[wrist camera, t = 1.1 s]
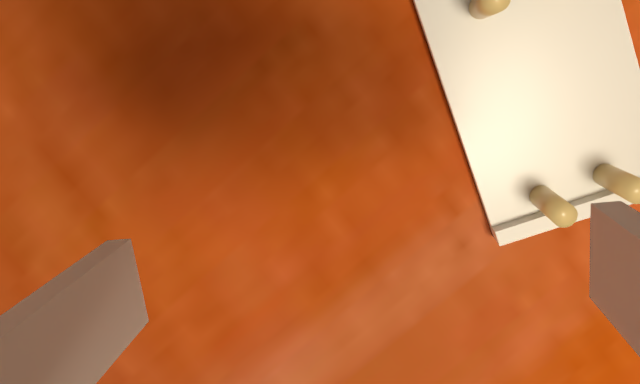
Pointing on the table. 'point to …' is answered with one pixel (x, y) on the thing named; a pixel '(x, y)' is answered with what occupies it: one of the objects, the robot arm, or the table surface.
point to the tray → (540, 105)
